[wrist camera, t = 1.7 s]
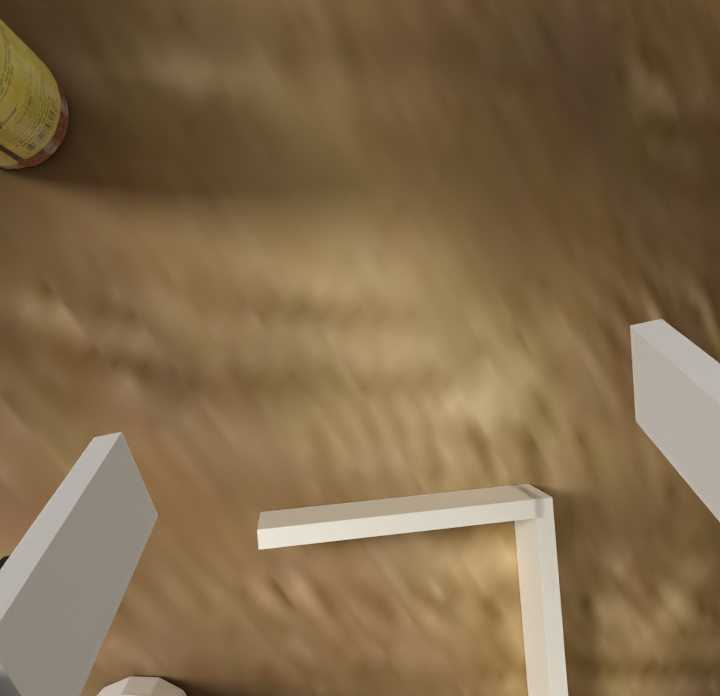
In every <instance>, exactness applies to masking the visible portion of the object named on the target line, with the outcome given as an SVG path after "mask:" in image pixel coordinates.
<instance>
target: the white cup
mask: <svg viewBox="0 0 720 696" xmlns="http://www.w3.org/2000/svg"><path fill="white" fill-rule="evenodd" d="M96 696H187V695H186V693H185V692H184V691H183V690H182V689H180V688H179V687H177V686H175V685H173V684H171V683H169V682H167V681H165V680H163V679H161V678H159V677H139V676H130V677H128V678H125V679H123V680H121V681H118V682H116V683H113V684H111V685H109V686H106V687H104V688H103V689H102V690H101V691H100V692H99V693H98V694H97V695H96Z"/></svg>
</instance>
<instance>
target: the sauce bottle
mask: <svg viewBox="0 0 720 696" xmlns="http://www.w3.org/2000/svg"><path fill="white" fill-rule="evenodd" d="M68 110H69V109H68V104H67V101H66V98H65V94H64V91H63V89H62V87H61V86H60V85H59V83H58V81H57V80H56V79H55V78H54V77H53V75H52V73H51V72H50V70H49V69H48V68H47V66H46V65H45V64H44V63H43V62H42V61H41V60H40V59H39V58H38V56H37V55H36V54H35V53H34V52H33V51H32V50H31V49H30V48H29V47H28V46H27V45H26V44H25V43H24V42H23V41H22V40H21V39H20V38H19V37H18V36H17V35H16V34H15V33H14V32H13V31H12V30H11V29H10V28H9V27H8V26H7V25H6V24H5V23H4V22H3V21H2V20H1V19H0V168H6V169H11V168H24V167H32V166H36V165H38V164H40V163H42V162H44V161H45V160H47V159H48V158H49V157H50V156H51V155H52V154H53V153H55V151H56V149H57V148H58V147H59V145H60V144H61V143H62V141H63V140H64V138H65V135H66V133H67V130H68V123H69V113H68Z"/></svg>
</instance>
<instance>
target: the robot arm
mask: <svg viewBox="0 0 720 696" xmlns="http://www.w3.org/2000/svg"><path fill="white" fill-rule="evenodd" d="M630 331H631V348H632V365H633V382H634V399H635V416H636V422H637V423H638V425H639V426H640V427H641V428H642V429H643V431H644V432H645V433H646V434H647V435H648V437H649V438H650V439H651V440H652V441H653V443H654V444H655V445H656V446H657V447H658V449H659V450H660V451H661V452H662V453H663V455H664V456H665V457H666V458H667V459H668V461H669V462H670V463H671V464H672V465H673V467H674V468H675V469H676V470H677V471H678V473H679V474H680V475H681V476H682V477H683V479H684V480H685V481H686V482H687V483H688V485H689V486H690V487H691V488H692V489H693V491H694V492H695V493H696V494H697V495H698V496H699V498H700V499H701V500H702V501H703V502H704V504H705V505H706V506H707V507H708V508H709V510H710V511H711V512H712V513H713V514H714V516H715V517H716V518H717V519H718V520H719V522H720V364H719V363H718V362H717V361H716V360H714V359H713V358H712V357H710V356H709V355H708V354H707V353H705V352H704V351H703V350H701V349H700V348H699V347H697V346H696V345H695V344H694V343H692V342H691V341H690V340H688V339H687V338H686V337H684V336H683V335H682V334H681V333H679V332H678V331H677V330H675V329H674V328H673V327H672V326H670V325H669V324H668V323H666V322H665V321H664V320H662V319H659V320H654V321H650V322H645V323H640V324H635V325H630ZM157 518H158V514H157V512H156V510H155V507H154V505H153V503H152V500H151V498H150V496H149V494H148V491H147V489H146V487H145V484H144V482H143V480H142V477H141V475H140V473H139V470H138V468H137V466H136V464H135V461H134V459H133V457H132V454H131V452H130V450H129V447H128V445H127V443H126V440H125V438H124V436H123V434H122V432H119V433H114V434H109V435H104V436H99V437H95V438H93V440H92V441H91V442H90V444H89V445H88V447H87V448H86V450H85V451H84V452H83V454H82V455H81V457H80V458H79V459H78V461H77V462H76V464H75V465H74V466H73V468H72V469H71V471H70V472H69V473H68V475H67V476H66V478H65V479H64V481H63V482H62V483H61V485H60V486H59V488H58V489H57V490H56V492H55V493H54V495H53V496H52V497H51V499H50V500H49V502H48V503H47V505H46V506H45V507H44V509H43V510H42V512H41V513H40V514H39V516H38V517H37V519H36V520H35V521H34V523H33V524H32V526H31V527H30V529H29V530H28V531H27V533H26V534H25V536H24V537H23V538H22V540H21V541H20V543H19V544H18V545H17V547H16V548H15V550H14V551H13V552H12V554H11V555H10V556H6V557H3V558H2V559H1V560H0V696H80V694H81V692H82V690H83V687H84V685H85V683H86V680H87V678H88V676H89V674H90V671H91V669H92V667H93V664H94V662H95V660H96V658H97V655H98V653H99V651H100V648H101V646H102V644H103V641H104V639H105V637H106V635H107V632H108V630H109V628H110V625H111V623H112V621H113V618H114V616H115V614H116V612H117V609H118V607H119V605H120V602H121V600H122V598H123V596H124V593H125V591H126V589H127V586H128V584H129V582H130V579H131V577H132V575H133V573H134V570H135V568H136V566H137V563H138V561H139V559H140V557H141V554H142V552H143V550H144V547H145V545H146V543H147V540H148V538H149V536H150V534H151V531H152V529H153V527H154V524H155V522H156V520H157Z"/></svg>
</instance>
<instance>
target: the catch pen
mask: <svg viewBox="0 0 720 696" xmlns="http://www.w3.org/2000/svg"><path fill="white" fill-rule="evenodd" d="M507 521H514V523H515V536H516V549H517V561H518V574H519V586H520V599H521V611H522V624H523V636H524V649H525V661H526V674H527V686H528V696H568V688H567V675H566V662H565V650H564V637H563V625H562V612H561V600H560V587H559V574H558V562H557V549H556V537H555V524H554V512H553V499H552V497H551V496H549V495H547V494H546V493H544V492H542V491H540V490H538V489H537V488H535V487H533V486H531V485H530V484H519V485H510V486H500V487H491V488H482V489H472V490H463V491H453V492H444V493H435V494H425V495H416V496H407V497H397V498H388V499H379V500H369V501H360V502H350V503H341V504H332V505H322V506H313V507H304V508H294V509H285V510H276V511H266V512H261V513H260V518H259V523H258V528H257V535H258V547H259V549H268V548H277V547H286V546H294V545H303V544H312V543H321V542H330V541H339V540H348V539H356V538H365V537H374V536H383V535H392V534H401V533H410V532H418V531H427V530H436V529H445V528H454V527H463V526H472V525H480V524H489V523H498V522H507Z"/></svg>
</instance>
